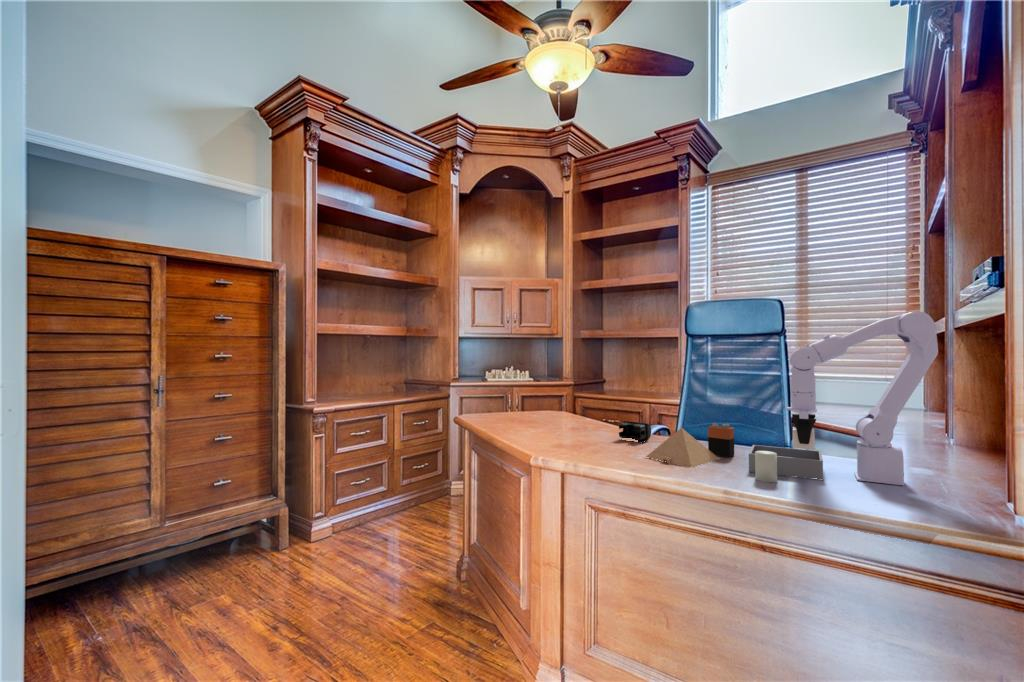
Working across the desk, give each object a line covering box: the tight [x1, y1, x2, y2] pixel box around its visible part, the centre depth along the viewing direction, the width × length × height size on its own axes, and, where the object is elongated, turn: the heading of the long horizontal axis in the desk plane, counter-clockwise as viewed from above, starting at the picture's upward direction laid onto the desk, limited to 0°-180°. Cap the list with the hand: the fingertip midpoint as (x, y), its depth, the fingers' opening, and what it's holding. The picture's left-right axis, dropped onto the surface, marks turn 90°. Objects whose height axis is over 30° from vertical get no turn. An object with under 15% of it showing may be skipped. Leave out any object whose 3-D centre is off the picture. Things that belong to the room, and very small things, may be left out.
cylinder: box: [754, 451, 778, 483], centre depth 123 cm, size 5×5×7 cm
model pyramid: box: [645, 427, 720, 468], centre depth 147 cm, size 17×17×10 cm
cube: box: [792, 426, 816, 451], centre depth 130 cm, size 5×5×5 cm
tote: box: [748, 444, 824, 480], centre depth 132 cm, size 17×13×5 cm
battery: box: [707, 422, 735, 459], centre depth 151 cm, size 4×7×10 cm, turn 44°
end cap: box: [618, 420, 652, 443], centre depth 176 cm, size 10×7×7 cm
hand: (804, 441), depth 130 cm, fingers closed on cube, 5 cm apart
